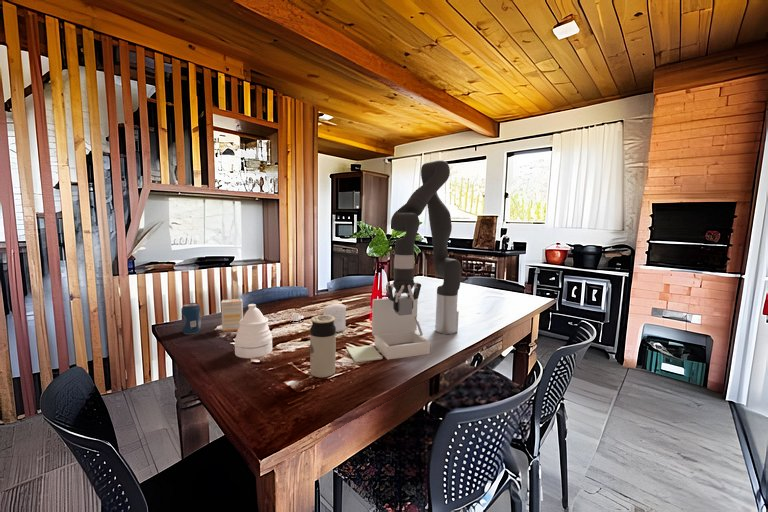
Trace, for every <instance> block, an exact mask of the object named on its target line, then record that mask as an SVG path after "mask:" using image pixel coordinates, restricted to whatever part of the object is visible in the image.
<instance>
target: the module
mask: <svg viewBox="0 0 768 512" xmlns="http://www.w3.org/2000/svg"><path fill="white" fill-rule="evenodd" d="M398 302H399V306H398V312H396V311H395V313H397V314H398V315H400V316H401V315H411V314H412V298H410V297H408V296H407V295H401V296H400V298H399V300H398Z"/></svg>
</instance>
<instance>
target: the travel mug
mask: <svg viewBox="0 0 768 512" xmlns="http://www.w3.org/2000/svg"><path fill="white" fill-rule="evenodd" d="M310 320H311V323H312V324H311V326H310V329H309V333H310V334H309V339H310V340H309V342H310V343H309V345H310V348H309V349H310V350H309V351H310V352H309V353H310V354H309V355H310V356H309V357H310V359H309V361H310V362H309V363H310V364H309V367H310V368H309V373H310V375H312V376H313V377H316V378H327V377H328V378H329V377H331V376H332V375H334V374H335V373H336V357H337V355H336V354H337V353H336V352H337V351H336V348H337V347H336V345H337V342H336V341H337V340H336V338H337V337H336V336H337V335H336V334H337V332H336V327H335V325H334V320H335V317H333V316H330V315H323V314H318V315H315V316H312V317H311V319H310Z"/></svg>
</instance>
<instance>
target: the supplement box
mask: <svg viewBox="0 0 768 512" xmlns="http://www.w3.org/2000/svg"><path fill="white" fill-rule="evenodd" d="M220 304H221V305H220V307H221V309H220V310H221V327H222V328H221V329H222V332H231V331H233V332H234V331H238V329H239V327H240V324H239V321H240V320H241V319H243V317H244V312H243V311H244V308H243V305H244V304H243V298H232V299H222V300H221V302H220Z"/></svg>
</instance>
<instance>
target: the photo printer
mask: <svg viewBox="0 0 768 512" xmlns="http://www.w3.org/2000/svg"><path fill="white" fill-rule="evenodd" d="M322 313H323V314H322V315H330V316H333V317H335V320H334V325H335V327H336V333H337V332H344V331H346V325H347V323H346V322H347V321H346V320H347V307H346V305H345V304H343V303H332V304H331V303H330V304H327V305H326V306H324V307H323V312H322Z"/></svg>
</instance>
